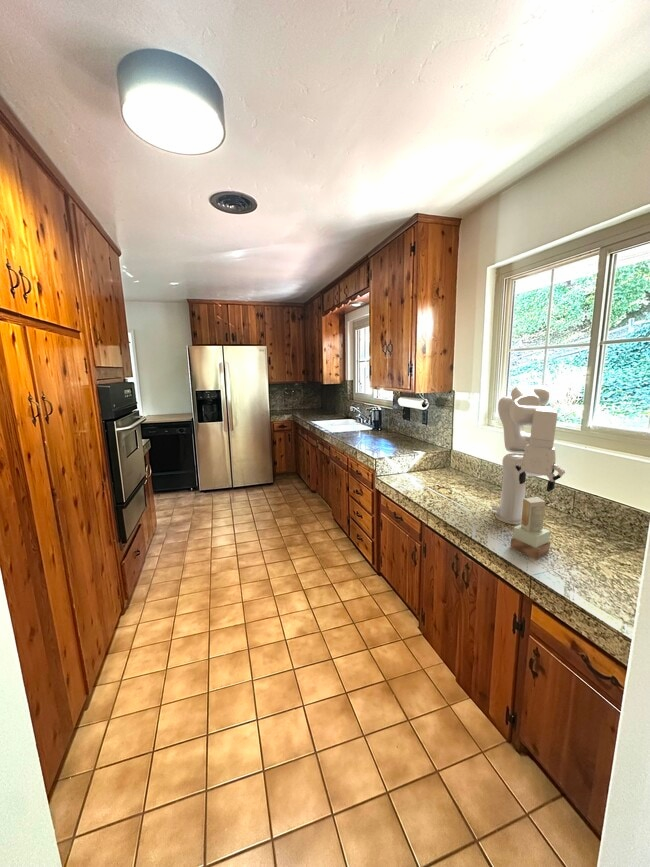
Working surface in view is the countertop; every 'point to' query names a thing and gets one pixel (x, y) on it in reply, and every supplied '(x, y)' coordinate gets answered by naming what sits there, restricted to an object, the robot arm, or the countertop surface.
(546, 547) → the tower bottom
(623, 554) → the countertop surface
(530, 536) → the tower top
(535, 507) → the skincare box
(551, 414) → the robot arm
